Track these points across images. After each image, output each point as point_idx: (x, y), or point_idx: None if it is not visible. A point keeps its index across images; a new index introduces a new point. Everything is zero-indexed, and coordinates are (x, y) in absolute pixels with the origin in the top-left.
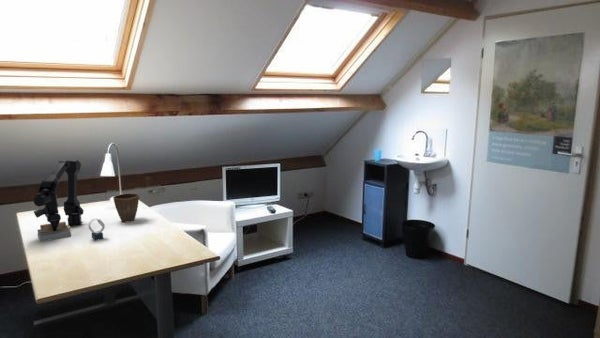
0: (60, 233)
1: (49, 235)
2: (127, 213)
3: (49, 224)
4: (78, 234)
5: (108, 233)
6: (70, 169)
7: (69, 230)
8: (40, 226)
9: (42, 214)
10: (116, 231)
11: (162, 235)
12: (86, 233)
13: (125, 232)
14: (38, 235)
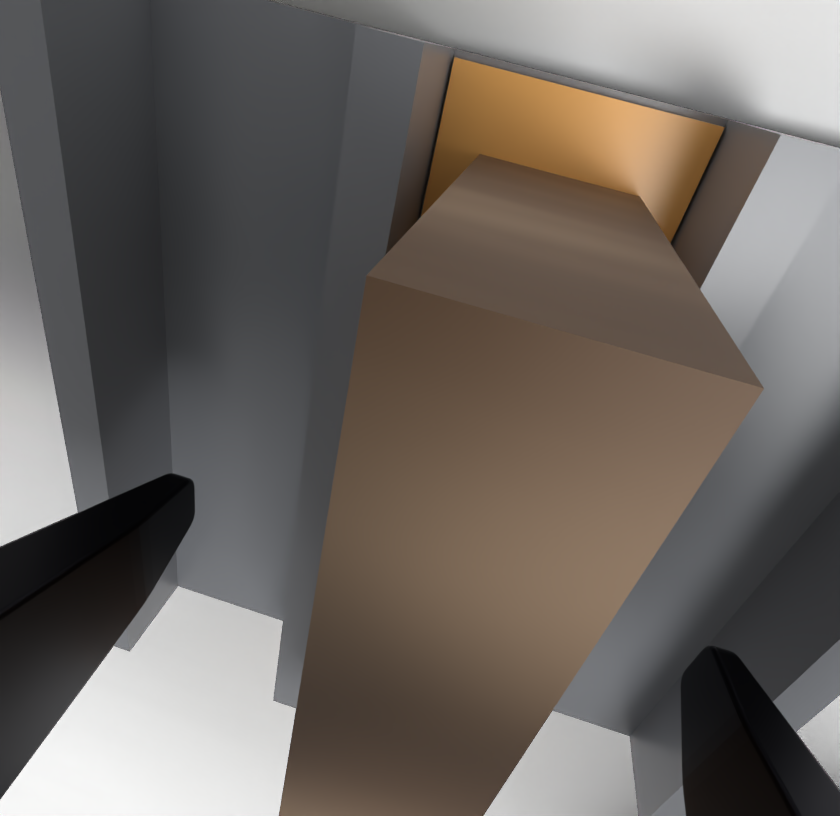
0: (83, 503)
1: (51, 276)
2: None
3: (367, 678)
4: (213, 650)
5: (58, 762)
6: None
7: None
8: (619, 312)
9: None
10: (93, 809)
11: None
12: (197, 704)
13: (19, 806)
14: (814, 141)
